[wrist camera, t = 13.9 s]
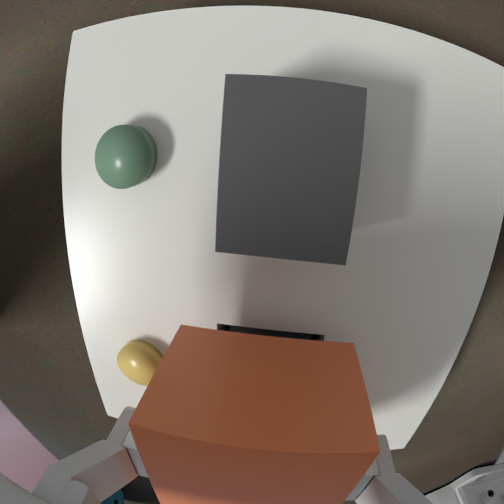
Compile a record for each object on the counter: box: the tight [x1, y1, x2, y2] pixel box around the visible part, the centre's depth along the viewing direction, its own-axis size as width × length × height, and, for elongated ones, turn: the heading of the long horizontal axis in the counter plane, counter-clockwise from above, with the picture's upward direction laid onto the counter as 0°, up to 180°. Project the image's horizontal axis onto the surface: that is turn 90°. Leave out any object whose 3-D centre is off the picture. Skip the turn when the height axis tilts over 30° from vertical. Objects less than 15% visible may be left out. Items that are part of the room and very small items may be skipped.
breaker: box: [215, 74, 367, 265], centre depth 8 cm, size 3×4×4 cm
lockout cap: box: [128, 324, 380, 504], centre depth 8 cm, size 5×6×4 cm
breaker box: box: [62, 6, 504, 450], centre depth 12 cm, size 16×18×5 cm
